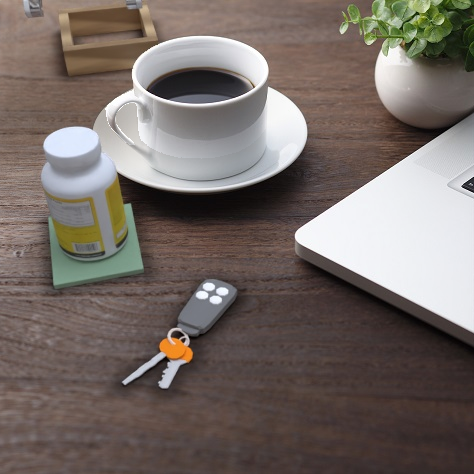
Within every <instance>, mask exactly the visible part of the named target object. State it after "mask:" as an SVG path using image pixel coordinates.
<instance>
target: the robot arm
mask: <svg viewBox="0 0 474 474" xmlns="http://www.w3.org/2000/svg"><path fill="white" fill-rule="evenodd" d="M142 1H143V0H125V3H126V5H127V9H141V8H143V6H142ZM22 5H23V11H24V15H25V16H26V18H27V19H32V18H33V19H35V18H43V17H44V16H45V15H44V13H45V12H44V10H43V0H22Z"/></svg>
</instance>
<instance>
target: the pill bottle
mask: <svg viewBox="0 0 474 474" xmlns="http://www.w3.org/2000/svg"><path fill="white" fill-rule="evenodd" d="M42 145H43V146H42V147H43V152H44V156H45V160H46V163H45V164H44V166H43V168H42V170H41V174H40V181H41V186H42V190H43V193H44V197H45V201H46V203H47V208H48V211H49V215H50V216H51V218H52V222H53V226H54V229H55V233H56V236H57V240H58V243H59V246H60V248H61V249H62V251H63V252H64V253H65V254H66V255H68V256H69V257H71V258H74V259H77V260H83V261H93V260H99V259H103V258H106V257H109V256H111V255H113V254H114V253H116V252H117V251H119V250H120V249H121V248H122V247H123V246H124V244H125V243H126V241H127V238H128V226H127V221H126V216H125V210H124V205H123V204H124V200H123V195H122V191H121V185H120V180H119V176H118V171H117V166H116V164H115V162H114V160H113V159H112V158H111V157H110V155H108V154H107V153H105V152H104V151H103V149H102V145H101V140H100V137H99V135H98V133H97V132H96V131H95V130H93V129H91V128H89V127H85V126H67V127H63V128H60V129H58V130H55V131H52V132H51V133H50V134H49V135H47V136H46V137H45V139H44V140H43V144H42Z"/></svg>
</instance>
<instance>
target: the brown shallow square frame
mask: <svg viewBox="0 0 474 474" xmlns="http://www.w3.org/2000/svg"><path fill="white" fill-rule="evenodd" d="M142 6H143V8H141V9H127V5H126V2H122V3H121V2H119V3H112V4H111V3H110V4H100V5H91V6H82V7H73V8H62V9H57V14H58V22H59V30H60V38H61V45H62V53H63V57H64V62H65V66H66V71H67V75H68V77H72V76H79V75H89V74H96V73H105V72H114V71H121V70H128V69H134V68H133V65H134V63H135V61H136V60H137V58H138V57H139V56H140V55H141V54H142V53H144V52H145V51H147V50H148V49H150V48H151V47H153V46H155V45H158V44H159V43H160V42H159V38H158V35H157V32H156V29H155V26H154V22H153V18H152V16H151V12H150V10H149V5H148V3H147V0H142ZM135 30H141V32H142V36H143V37H136V38H135V37H134V38H127V39H118V40H110V41H102V42H101V41H100V42H92V43H83V44H75V43H74V42H75V41H74V37H83V36H92V35H101V34H111V33H118V32H127V31H128V32H129V31H135ZM159 45H160V44H159Z"/></svg>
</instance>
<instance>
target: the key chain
mask: <svg viewBox="0 0 474 474" xmlns="http://www.w3.org/2000/svg"><path fill="white" fill-rule="evenodd" d="M237 296H238V289H237V288H236V287H235V286H233V285H232V284H230V283H227V282H225V281H222V280H219V279H216V278H206V279H205V280H203V281H202V282H201V284H199V286H198V287H197V288H196V290H195V292H194V293H193V294H192V296H191V297H190V299H189V300H188V301H187V303H186V304H185V306H184V307H183V308H182V310H181V311H180V313H179V315H178V317H177V325H176V327H173V328H171V329H170V330H169V331H168V332H167V337H166V338H164V339H162V341H161V342H160V343H159V347H158V348H159V351H160V352H158V353H157V354H155V356H153V357H152V358H151V359H150V360H149V361H147V362H145V363H144V364H142V365H141V366H139V368H137V370H135V371H133V372H132V373H131V374H130V375H129V376H127V377H126V378H125V379H124V380H123V381H121V383H122V384H123V385H124V386H126V385H128V384H130V383H131V382H133V381H134V380H136V379H137V378H140V377H141V376H142V375H144V373H145V372H147V371H148V370H150V369H151V368H153V367H154V366H156V365H157V364H158V363H159V362H160V361H162V360H163V359H164V358H167V359H168V360H169V361H168V362H167V366H166V368H165V369H164V370H162V375H161V378H162V379H161V380H158V382H157V384H158V387H159V388H160V389H162V390H167V389H169V388H170V386H171V384H172V381H173V380H174V378H175V377H176V374H177V372H178V370H179V369H180V367H181V366H183V365H185V364H189V363H190V362H191V361H192V360H193V356H194V352H193V350H192V348H191V347H189V345H190V341H191V340H190V338H189V336H190V337H199V335H202V334H205V333H207V332H208V331H209V330H210V329H212V327H213V326H214V325H215V323H217V321H218V320H219V319H220V318H221V317H222V316H223V315H224V313H225V312H226V311H227V310H228V309H229V308H230V306H231V305H232V304H233V303H234V302H235V301H236V298H237ZM173 332H180V333H181V334H182V335H183V336H181V337H180V338H179V339H178V338H176V337H171V336H172V333H173ZM183 339H185V341H184V342H183V341H182V340H183Z"/></svg>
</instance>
